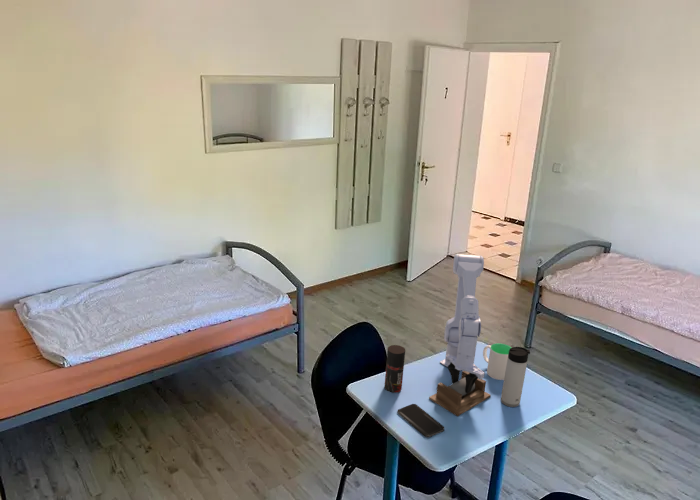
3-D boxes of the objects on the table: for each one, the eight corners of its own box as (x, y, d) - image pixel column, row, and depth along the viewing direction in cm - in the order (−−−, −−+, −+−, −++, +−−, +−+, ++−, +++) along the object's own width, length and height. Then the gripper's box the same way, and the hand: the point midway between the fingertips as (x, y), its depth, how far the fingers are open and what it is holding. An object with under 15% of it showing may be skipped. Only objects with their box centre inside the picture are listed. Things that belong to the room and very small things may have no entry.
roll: (461, 386, 191) (464, 374, 189) (473, 393, 188) (476, 381, 186) (445, 395, 185) (447, 382, 184) (457, 403, 182) (459, 390, 180)
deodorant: (395, 394, 187) (399, 355, 182) (381, 388, 190) (384, 349, 185) (404, 387, 191) (408, 349, 186) (390, 381, 195) (393, 343, 190)
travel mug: (521, 409, 183) (531, 355, 176) (501, 405, 184) (509, 352, 178) (519, 398, 189) (529, 346, 182) (500, 395, 190) (508, 343, 183)
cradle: (462, 381, 197) (464, 366, 195) (490, 396, 189) (492, 381, 187) (429, 399, 186) (430, 383, 184) (457, 416, 177) (459, 400, 175)
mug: (474, 366, 207) (477, 342, 203) (488, 361, 211) (492, 336, 208) (499, 382, 198) (503, 356, 194) (513, 376, 202) (518, 350, 199)
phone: (426, 436, 166) (396, 410, 177) (426, 439, 166) (395, 413, 178) (446, 428, 170) (414, 402, 182) (445, 431, 170) (414, 405, 182)
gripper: (441, 346, 184) (437, 382, 188) (477, 365, 174) (471, 402, 178) (454, 340, 188) (450, 375, 193) (490, 358, 178) (484, 394, 183)
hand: (461, 387), depth 186 cm, fingers closed on roll, 5 cm apart
